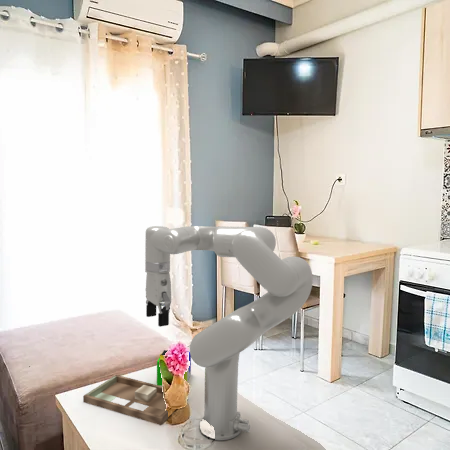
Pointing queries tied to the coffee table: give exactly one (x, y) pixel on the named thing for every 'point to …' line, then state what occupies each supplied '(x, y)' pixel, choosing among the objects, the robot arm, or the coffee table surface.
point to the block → (145, 393)
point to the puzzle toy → (159, 379)
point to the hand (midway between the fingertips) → (157, 320)
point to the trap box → (126, 390)
